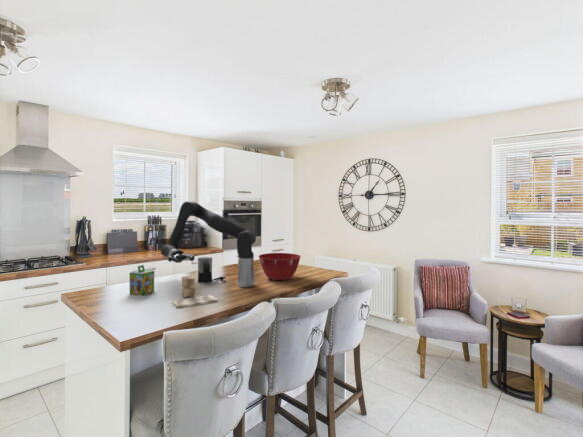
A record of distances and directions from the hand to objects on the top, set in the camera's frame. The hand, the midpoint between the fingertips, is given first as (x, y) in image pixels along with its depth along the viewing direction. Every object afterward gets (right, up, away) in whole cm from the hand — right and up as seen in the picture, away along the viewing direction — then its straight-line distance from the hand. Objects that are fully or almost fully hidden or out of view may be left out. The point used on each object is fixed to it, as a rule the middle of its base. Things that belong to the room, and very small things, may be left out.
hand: (184, 259), depth 173 cm
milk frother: (+9, -17, +23) cm, 30 cm away
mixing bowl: (+52, -17, +35) cm, 65 cm away
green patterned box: (-22, -17, -5) cm, 28 cm away
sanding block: (+5, -18, -9) cm, 21 cm away
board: (+12, -19, -19) cm, 29 cm away
